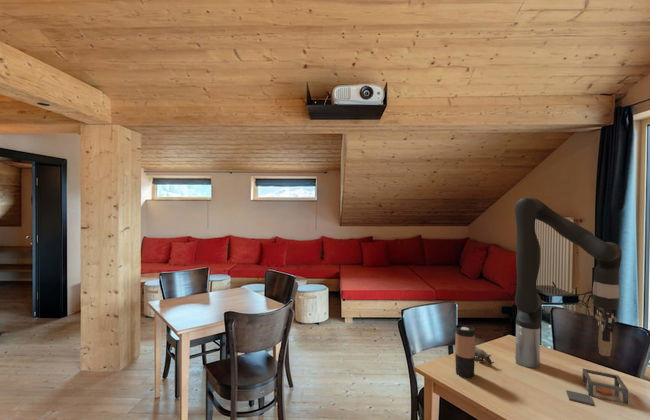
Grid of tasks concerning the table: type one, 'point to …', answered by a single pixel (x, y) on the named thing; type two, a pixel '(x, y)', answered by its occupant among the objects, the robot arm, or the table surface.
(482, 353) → the rhino figurine
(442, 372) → the table surface
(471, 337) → the travel mug
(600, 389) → the button
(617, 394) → the guard frame
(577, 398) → the rubber mat
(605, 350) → the handle
